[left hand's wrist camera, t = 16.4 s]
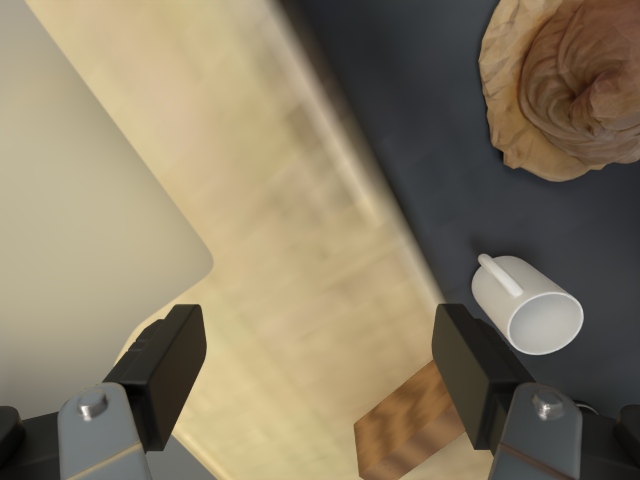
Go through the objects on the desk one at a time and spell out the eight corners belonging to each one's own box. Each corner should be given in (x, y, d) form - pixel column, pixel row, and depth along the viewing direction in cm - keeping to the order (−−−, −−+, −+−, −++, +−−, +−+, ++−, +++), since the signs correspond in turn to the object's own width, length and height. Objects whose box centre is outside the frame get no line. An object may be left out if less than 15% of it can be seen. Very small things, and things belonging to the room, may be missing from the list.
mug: (442, 261, 46) (474, 300, 37) (495, 221, 44) (543, 253, 35) (489, 316, 50) (530, 367, 40) (541, 282, 48) (597, 327, 38)
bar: (463, 334, 51) (490, 377, 43) (483, 351, 52) (513, 396, 44) (353, 424, 57) (359, 476, 49) (373, 438, 58) (382, 490, 50)
